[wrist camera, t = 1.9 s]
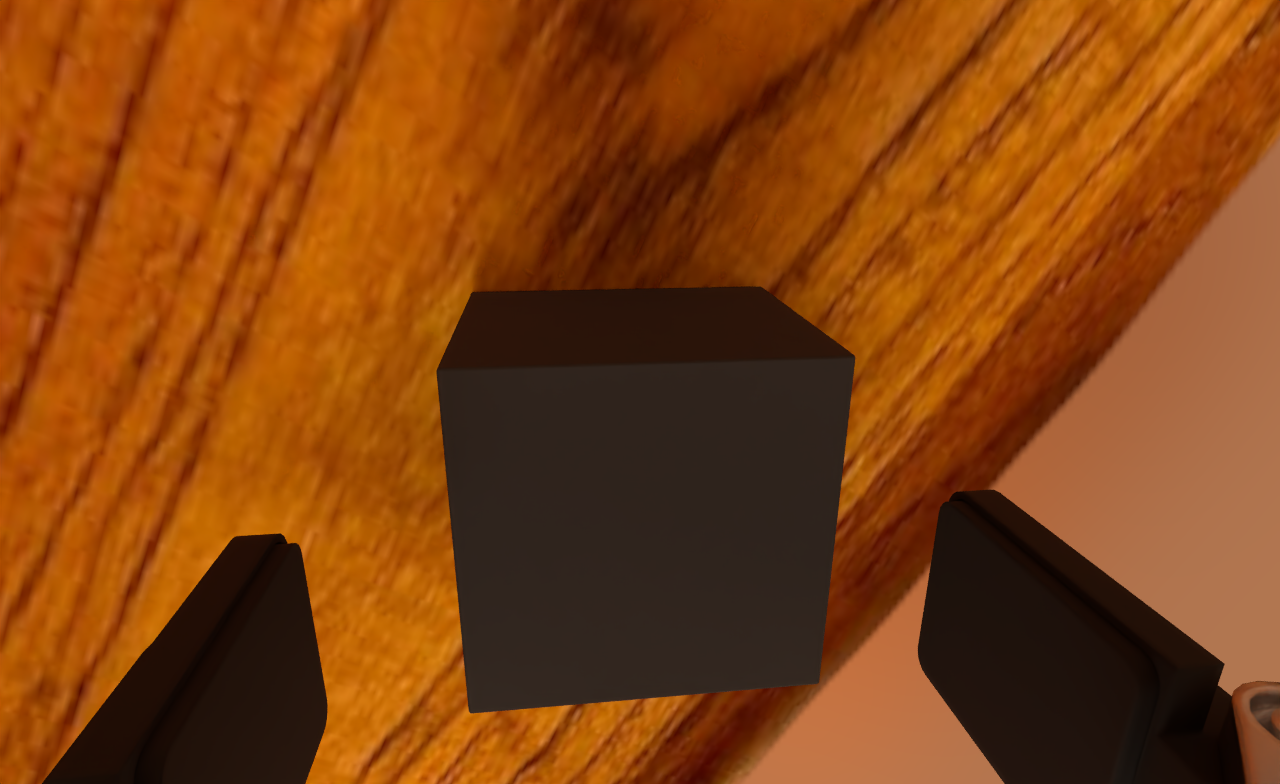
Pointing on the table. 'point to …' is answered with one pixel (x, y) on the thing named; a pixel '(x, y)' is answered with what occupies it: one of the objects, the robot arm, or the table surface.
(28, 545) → the table surface
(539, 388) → the dark block
